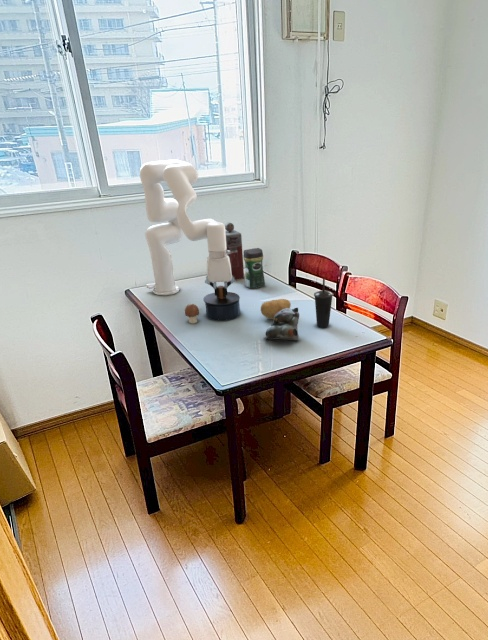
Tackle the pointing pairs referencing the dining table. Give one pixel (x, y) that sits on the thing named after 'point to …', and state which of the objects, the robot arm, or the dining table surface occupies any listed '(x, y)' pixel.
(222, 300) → the pan lid
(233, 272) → the vintage gas pump model
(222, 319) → the pan
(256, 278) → the coffee jar
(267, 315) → the potato
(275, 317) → the lucky cat figurine
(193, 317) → the mushroom
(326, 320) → the drinking cup
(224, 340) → the dining table surface
